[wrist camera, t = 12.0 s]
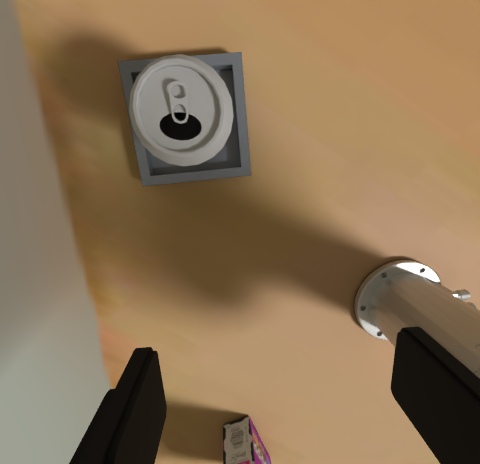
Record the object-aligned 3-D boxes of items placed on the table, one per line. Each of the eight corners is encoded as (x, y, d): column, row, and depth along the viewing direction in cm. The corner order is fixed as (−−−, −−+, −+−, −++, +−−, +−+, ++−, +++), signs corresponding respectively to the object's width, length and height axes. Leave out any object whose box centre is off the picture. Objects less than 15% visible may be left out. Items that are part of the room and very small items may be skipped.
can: (160, 161, 30) (125, 165, 18) (157, 87, 27) (114, 39, 16) (227, 163, 30) (233, 169, 19) (228, 91, 28) (236, 48, 17)
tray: (239, 59, 28) (241, 52, 26) (248, 173, 31) (251, 175, 29) (125, 68, 27) (117, 61, 25) (147, 184, 31) (142, 186, 29)
